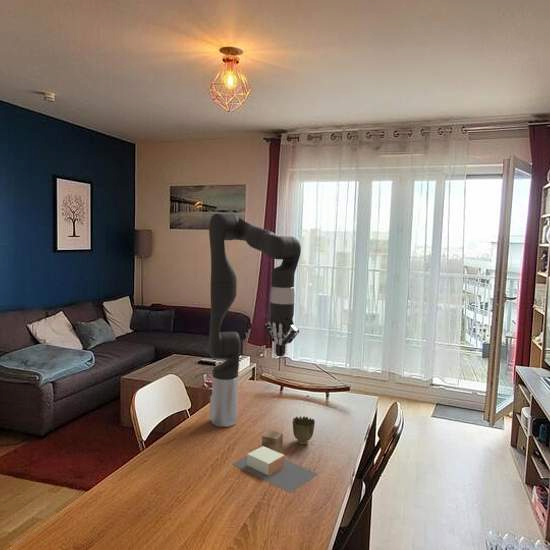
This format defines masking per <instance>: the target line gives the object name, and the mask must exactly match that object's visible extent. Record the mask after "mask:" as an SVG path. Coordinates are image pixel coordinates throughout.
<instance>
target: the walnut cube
mask: <svg viewBox="0 0 550 550" xmlns="http://www.w3.org/2000/svg"><path fill="white" fill-rule="evenodd" d="M283 435H284V433H283V432H279V431H275V430H271V429H268V430H267V431H266V432H265V433H264V434H262V435H261V447H262V446H264V447H267V448H269V449H271V450H274V451H276V452H278V453H279V451H280V450H281V449H282V448H283Z"/></svg>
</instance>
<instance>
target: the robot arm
mask: <svg viewBox="0 0 550 550" xmlns="http://www.w3.org/2000/svg"><path fill="white" fill-rule="evenodd" d="M208 234H209V248H210V250H209V251H210V322H209V338H208V351H209V355H210V357H211V358H212V359H226V360H225V361H223V362H222V363H220V364H218V365H216V366H214V367H213V369H212V384H211V385H212V389H211V392H212V393H211V395H210V396H209V399H210V400H209V421H210V422H211V424H212V425H213V426H216V427H220V428H226V427H227V428H228V427H232V426H235V425H236V424H237V423H238V396H239V395H238V394H239V392H238V391H239V368H240V356H241V337H240V335H239V333H238V332H237V331H221V326H222V323H223V320H224V318H225V316H226V314H227V313H228V312H229V309H230V308H231V306H232V305H233V303H234V302H235V300H236V297H237V285H238V283H237V274H236V272H235V269H234V268H233V266H232V265H231V263H230V261H229V259H228V256H227V252H226V249H225V247H226V246H225V241H236V240H237V241H243V242H246V244H247V245H248V246H249V247H250V248H253V249H255V250H257V251H260V252H262V253H263V254H265V256H267V257H269V258H270V259H273V260H282V262H281V264H280V265H279V266H277V267H274V268H273V269H272V272H271V287H270V294H269V316H270V317H269V321H268V322H267V323H264V324H263V328H264V330H265V332H266V334H267V336H268V337H269V340H270V342H273V343H274V344H275V348H274V349H275V351H274V353H275V355H276V357H280V358H281V357H284V355H286V345H288V344H291V343H292V342H293V341H294V339H295V338H296V337H297V336H298V334H299V333H300V329H299V328H296V326H294V324H295V323H294V320H293V318H294V315H295V297H296V296H295V273H296V271H297V267H298V264H299V261H300V256H301V251H302V249H301V248H302V246H301V243H300V241H299V240H298V238H296V237H295V236H279V235H277V234H276V233H274V232H273V231H271V230H267V229H265V228H261V227H258V226H255V225H252V224H251V223H249V222H247V221H246V220H244V219H243V218H242V217H239V216H237V215H235V214H231V213H230V214H226V213H214V214H213V215H211V217H210V219H209V225H208Z"/></svg>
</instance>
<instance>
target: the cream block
mask: <svg viewBox="0 0 550 550" xmlns="http://www.w3.org/2000/svg"><path fill="white" fill-rule="evenodd" d="M246 457H247V466H250V467H252V468H254V469H256V470H258V471H260V472H262V473H264V474H266V475H268V476H269V475H271V474H273V473H274V472H276V471H278V470H279V469H281V468H283V467H284V461H285V460H286V458H285V457H286V455H285V454H283V453H280V452H279V451H278V452H276V451H274V450H271V449H269V448H267V447H264V446H262V445H261V446H260V447H258V448H257V449H254V450H252V451H250V452H247V455H246Z"/></svg>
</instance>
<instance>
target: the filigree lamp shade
mask: <svg viewBox="0 0 550 550" xmlns="http://www.w3.org/2000/svg"><path fill="white" fill-rule="evenodd" d="M292 429H293V430H292V431H293V436H294V438H295V439H296V440H297V441H296V442H297V444H299V445H301V446H306V445H308V444H309V441H310V440H311V439H312V437H313V436H314V435H313V434H314V432H315V431H314V430H315V419H314V418H311V417H308V416H303V417H302V416H301V415H300V416H299V417H298V416H296V417H293V419H292Z"/></svg>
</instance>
